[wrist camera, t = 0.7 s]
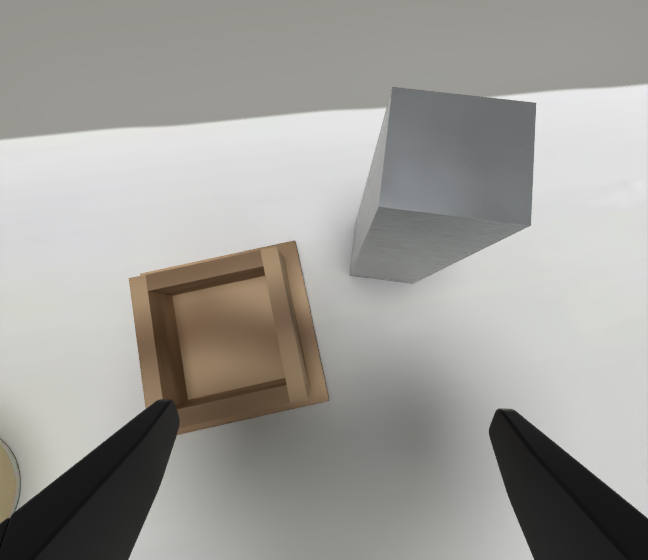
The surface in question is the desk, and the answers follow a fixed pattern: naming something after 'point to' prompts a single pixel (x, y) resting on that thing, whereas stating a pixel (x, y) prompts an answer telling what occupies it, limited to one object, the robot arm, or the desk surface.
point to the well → (228, 337)
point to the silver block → (443, 183)
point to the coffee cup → (8, 482)
